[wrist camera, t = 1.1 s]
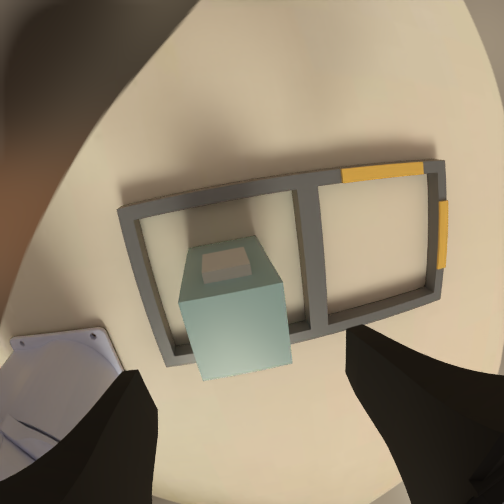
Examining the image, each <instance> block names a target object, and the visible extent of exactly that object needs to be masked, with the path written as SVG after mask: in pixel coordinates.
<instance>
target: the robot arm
mask: <svg viewBox="0 0 504 504" xmlns="http://www.w3.org/2000/svg"><path fill="white" fill-rule="evenodd" d="M91 333H93V334H95V335H96V337H94V336H93V335H92V334H91ZM23 342H24V343H23ZM10 344H11V346H12V348H13V350H14V351H13V353H12V354H11V355H10V356H9V358H8V359H7V360H6V362H5V363H4V364H3V366H2V367H1V368H0V504H152V482H153V472H154V463H155V455H156V446H157V438H158V409H157V407H156V405H155V403H154V401H153V399H152V397H151V395H150V393H149V391H148V389H147V387H146V385H145V383H144V381H143V379H142V377H141V375H140V373H139V370H129V371H124V369H123V367H122V365H121V363H120V361H119V359H118V357H117V354H116V352H115V350H114V348H113V346H112V343H111V341H110V339H109V336H108V334H107V332H106V330H105V329H104V328H102V327H94V328H87V329H79V330H71V331H63V332H54V333H46V334H37V335H27V336H17V337H12V338H11V339H10ZM345 372H346V375H347V377H348V379H349V382H350V384H351V386H352V388H353V390H354V392H355V395H356V396H357V398H358V399H359V401H360V403H361V404H362V406H363V407H364V409H365V411H366V412H367V414H368V415H369V417H370V418H371V420H372V422H373V423H374V425H375V426H376V428H377V429H378V431H379V433H380V434H381V436H382V437H383V439H384V441H385V443H386V444H387V446H388V448H389V450H390V452H391V455H392V457H393V459H394V461H395V463H396V465H397V468H398V470H399V473H400V475H401V477H402V480H403V482H404V485H405V487H406V490H407V493H408V496H409V498H410V501H411V504H504V376H503V375H495V374H488V373H483V372H478V371H473V370H469V369H464V368H461V367H457V366H454V365H451V364H448V363H445V362H442V361H439V360H436V359H434V358H431V357H429V356H426V355H424V354H421V353H419V352H417V351H415V350H413V349H410V348H408V347H406V346H404V345H402V344H400V343H398V342H396V341H394V340H392V339H390V338H388V337H386V336H385V335H383V334H381V333H379V332H377V331H375V330H373V329H371V328H369V327H367V326H365V325H363V324H361V325H357V326H354V327H350V328H347V329H346V370H345Z"/></svg>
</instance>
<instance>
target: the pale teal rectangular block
mask: <svg viewBox="0 0 504 504" xmlns="http://www.w3.org/2000/svg"><path fill="white" fill-rule="evenodd" d="M178 304H179V307H180V311H181V314H182V318H183V321H184V324H185V328H186V331H187V334H188V337H189V340H190V344H191V347H192V350H193V353H194V356H195V359H196V362H197V365H198V368H199V371H200V374H201V377H202V380H203V381H206V380H213V379H219V378H224V377H230V376H236V375H241V374H246V373H251V372H256V371H261V370H265V369H270V368H275V367H279V366H283V365H288V364H292V354H291V345H290V337H289V328H288V319H287V311H286V303H285V295H284V287H283V282H282V280H281V278H280V276H279V275H278V273H277V271H276V270H275V268H274V266H273V265H272V263H271V261H270V259H269V258H268V256H267V254H266V253H265V251H264V249H263V248H262V246H261V244H260V242H259V241H258V239H257V237H256V236H250V237H245V238H240V239H235V240H229V241H224V242H219V243H214V244H209V245H203V246H198V247H193V248H189V249H188V254H187V258H186V263H185V269H184V274H183V279H182V284H181V290H180V295H179V301H178Z"/></svg>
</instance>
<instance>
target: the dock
mask: <svg viewBox="0 0 504 504" xmlns="http://www.w3.org/2000/svg"><path fill="white" fill-rule="evenodd" d="M426 173H427V178H428V211H429V223H428V256H427V272H426V284H425V287H423V288H420V289H417V290H414V291H410V292H407V293H404V294H401V295H397V296H394V297H391V298H388V299H384V300H381V301H377V302H374V303H370V304H367V305H363V306H360V307H356V308H352V309H349V310H345V311H341V312H338V313H334V314H330V315H328V308H327V289H326V273H325V259H324V246H323V234H322V223H321V213H320V203H319V194H318V186H323V185H330V184H337V183H349V182H357V181H365V180H373V179H382V178H391V177H400V176H410V175H420V174H426ZM289 190H292V196H293V204H294V212H295V220H296V229H297V237H298V246H299V255H300V265H301V274H302V284H303V295H304V306H305V318H306V321H301V322H297V323H293V324H288V328H289V337H290V344H295V343H299V342H303V341H307V340H311V339H315V338H319V337H322V336H326V335H330V334H334V333H337V332H341V331H345V330H346V329H347V328H350V327H354V326H357V325H361V324H363V325H365V324H368V323H372V322H375V321H378V320H381V319H385V318H388V317H391V316H394V315H397V314H400V313H403V312H406V311H409V310H412V309H415V308H417V307H420V306H423V305H426V304H429V303H431V302H434V301H437V300H439V299H440V297H441V289H442V280H443V270H444V268H445V267H446V254H447V237H448V200H446V171H445V160H437V159H428V160H412V161H398V162H386V163H374V164H364V165H354V166H345V167H336V168H328V169H319V170H312V171H304V172H297V173H290V174H283V175H276V176H270V177H263V178H257V179H251V180H245V181H239V182H233V183H228V184H222V185H217V186H212V187H206V188H201V189H196V190H191V191H186V192H181V193H177V194H172V195H167V196H163V197H158V198H154V199H149V200H145V201H140V202H136V203H132V204H128V205H124V206H121V207H120V208H118V209H117V213H118V217H119V221H120V225H121V229H122V233H123V237H124V241H125V245H126V248H127V252H128V256H129V259H130V263H131V266H132V270H133V273H134V276H135V280H136V283H137V286H138V289H139V292H140V296H141V299H142V302H143V305H144V308H145V311H146V314H147V317H148V320H149V322H150V325H151V328H152V331H153V334H154V336H155V339H156V342H157V344H158V347H159V350H160V352H161V355H162V358H163V360H164V363H165V365H166V367H172V366H180V365H186V364H193V363H197V362H196V359H195V356H194V353H193V350H192V347H191V344H186V345H179V346H175V343H174V340H173V337H172V334H171V331H170V328H169V325H168V322H167V319H166V316H165V312H164V309H163V306H162V303H161V300H160V296H159V293H158V290H157V286H156V283H155V279H154V276H153V272H152V269H151V265H150V261H149V258H148V254H147V250H146V246H145V242H144V238H143V234H142V230H141V226H140V222H139V219H142V218H146V217H151V216H155V215H160V214H165V213H169V212H174V211H179V210H184V209H189V208H194V207H199V206H204V205H209V204H214V203H219V202H225V201H230V200H236V199H241V198H247V197H253V196H259V195H264V194H270V193H277V192H283V191H289Z"/></svg>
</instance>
